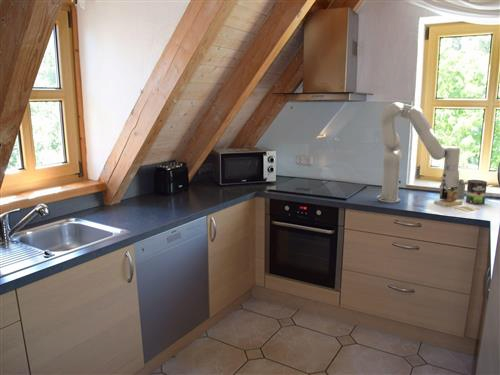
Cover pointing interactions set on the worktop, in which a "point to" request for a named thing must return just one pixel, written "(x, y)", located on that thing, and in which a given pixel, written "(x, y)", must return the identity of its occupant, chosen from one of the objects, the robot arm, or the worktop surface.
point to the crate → (450, 195)
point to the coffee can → (476, 192)
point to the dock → (447, 203)
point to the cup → (460, 191)
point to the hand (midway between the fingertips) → (448, 197)
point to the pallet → (467, 208)
